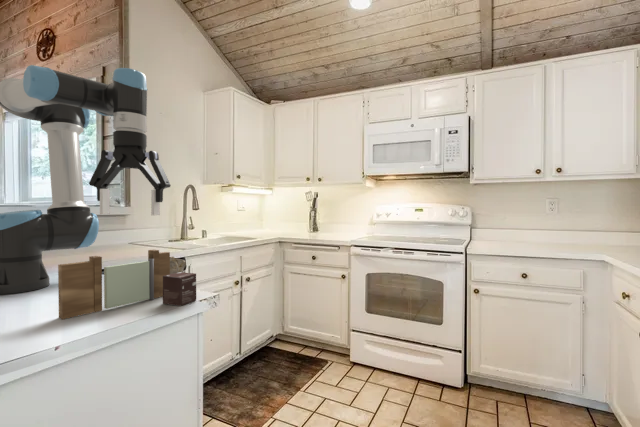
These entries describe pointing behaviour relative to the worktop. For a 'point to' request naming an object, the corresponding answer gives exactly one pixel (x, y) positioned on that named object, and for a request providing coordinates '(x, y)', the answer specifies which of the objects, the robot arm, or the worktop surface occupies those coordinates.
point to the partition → (97, 283)
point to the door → (128, 283)
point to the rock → (176, 265)
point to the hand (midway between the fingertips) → (130, 214)
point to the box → (179, 288)
